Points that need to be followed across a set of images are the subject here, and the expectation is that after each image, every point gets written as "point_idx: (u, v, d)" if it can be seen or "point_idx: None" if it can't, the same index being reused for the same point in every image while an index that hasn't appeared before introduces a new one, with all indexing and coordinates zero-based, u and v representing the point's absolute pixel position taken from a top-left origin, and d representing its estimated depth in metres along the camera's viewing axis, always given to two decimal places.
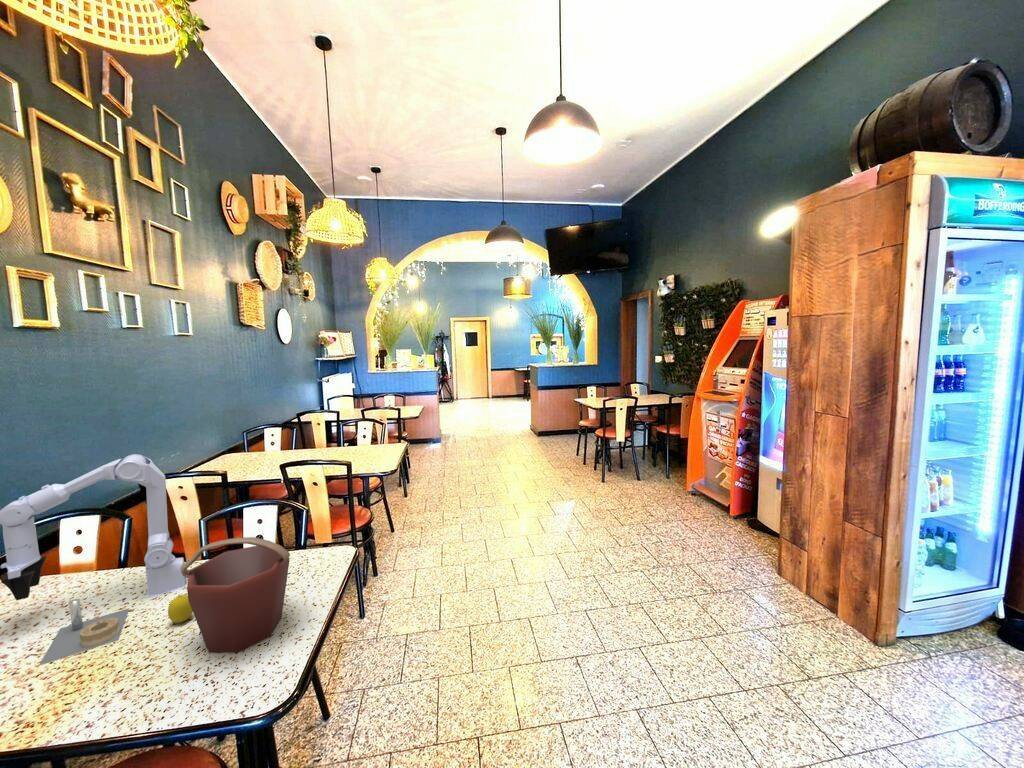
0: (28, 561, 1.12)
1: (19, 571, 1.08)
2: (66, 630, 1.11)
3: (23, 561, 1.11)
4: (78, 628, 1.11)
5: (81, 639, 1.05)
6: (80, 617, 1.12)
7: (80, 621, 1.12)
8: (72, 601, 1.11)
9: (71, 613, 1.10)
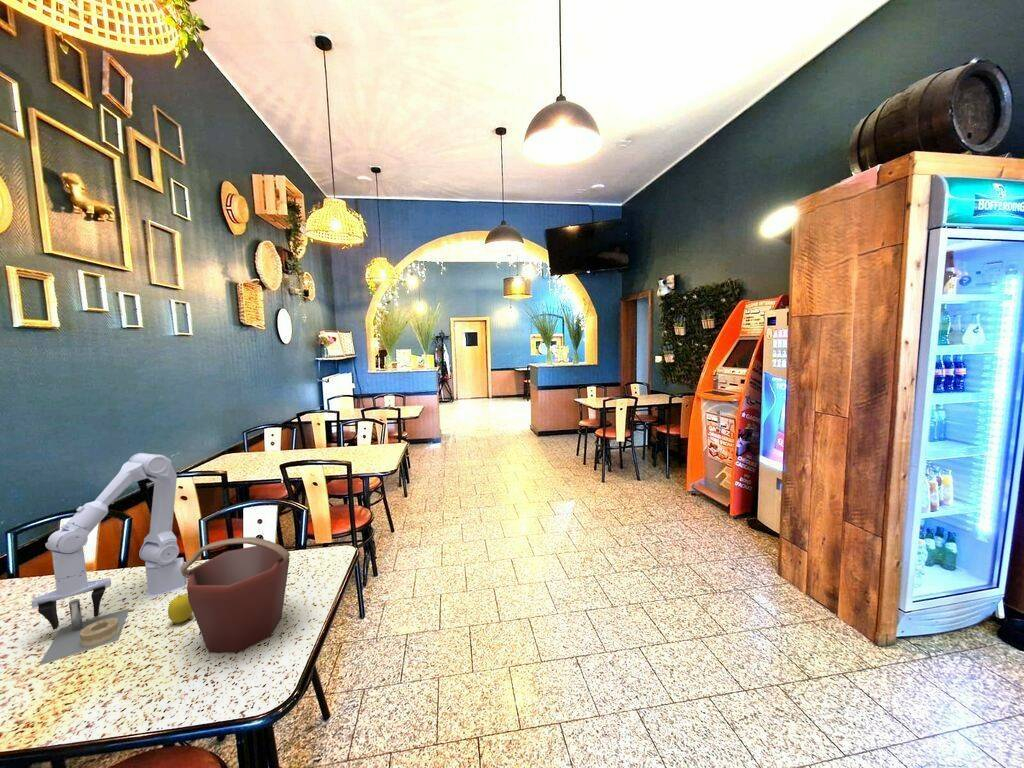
0: (57, 594, 1.08)
1: (33, 603, 1.06)
2: (66, 630, 1.11)
3: (56, 591, 1.09)
4: (78, 628, 1.11)
5: (81, 639, 1.05)
6: (80, 617, 1.12)
7: (80, 621, 1.12)
8: (72, 601, 1.11)
9: (71, 613, 1.10)
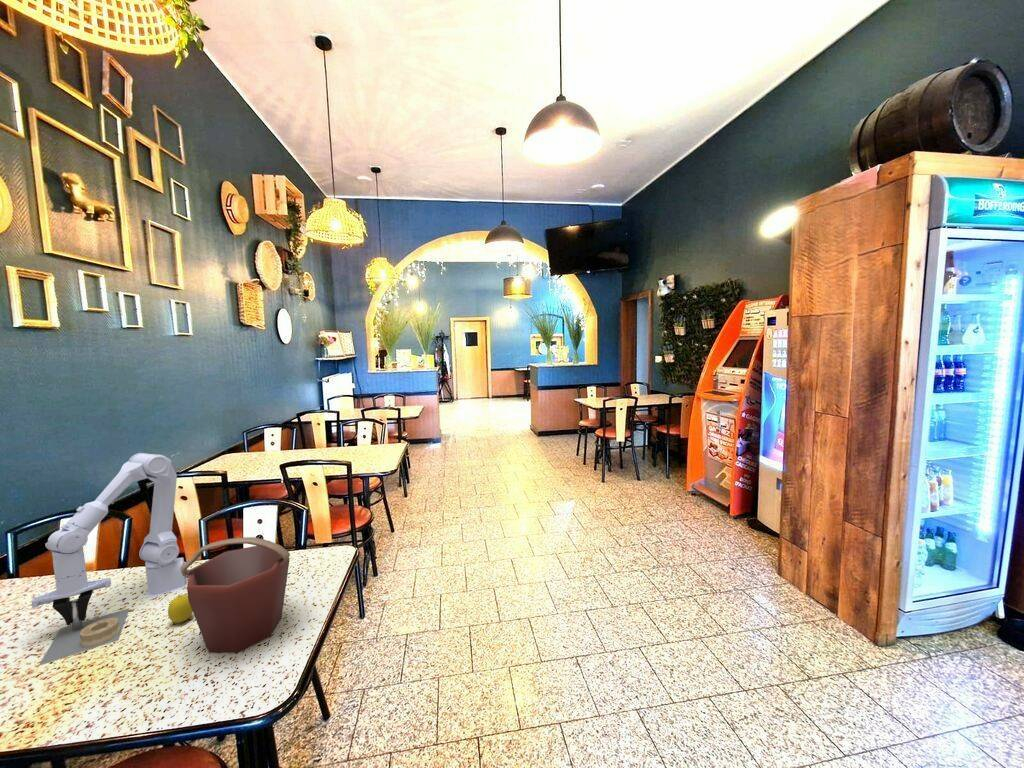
0: (57, 594, 1.08)
1: (33, 603, 1.06)
2: (66, 630, 1.11)
3: (56, 591, 1.09)
4: (78, 628, 1.11)
5: (81, 639, 1.05)
6: (80, 617, 1.12)
7: (80, 621, 1.12)
8: (72, 601, 1.11)
9: (71, 613, 1.10)
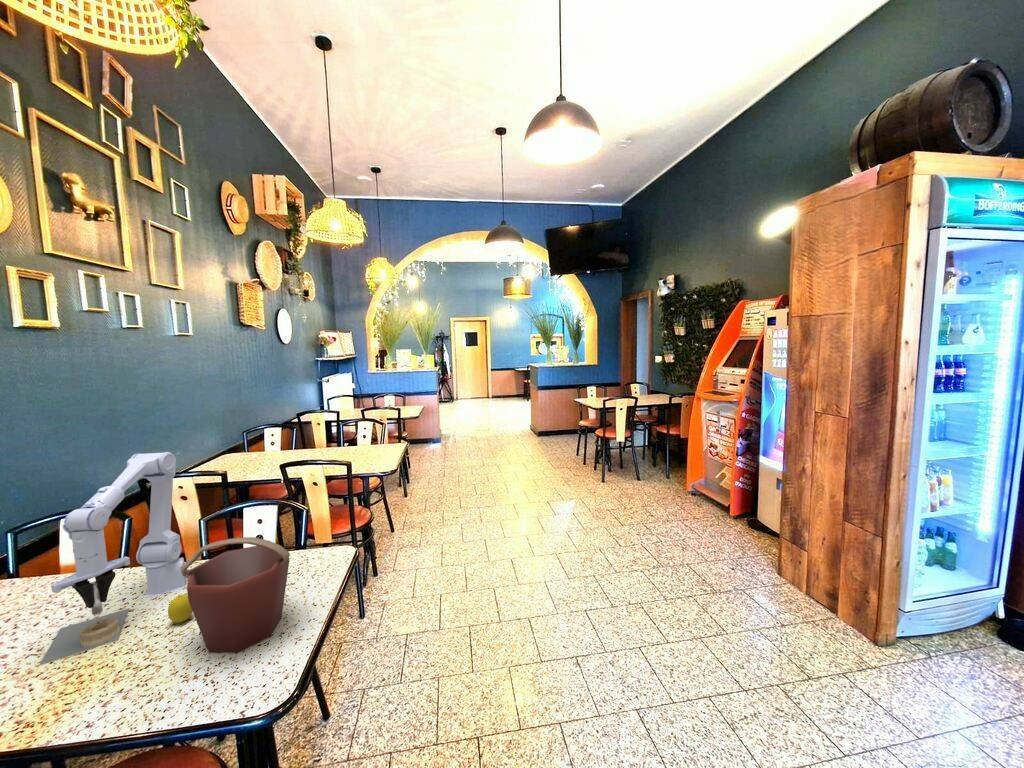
0: (82, 575, 1.04)
1: (57, 587, 1.00)
2: (66, 630, 1.11)
3: (79, 573, 1.04)
4: (100, 610, 1.07)
5: (81, 639, 1.05)
6: None
7: (101, 603, 1.08)
8: (92, 583, 1.06)
9: (94, 595, 1.06)
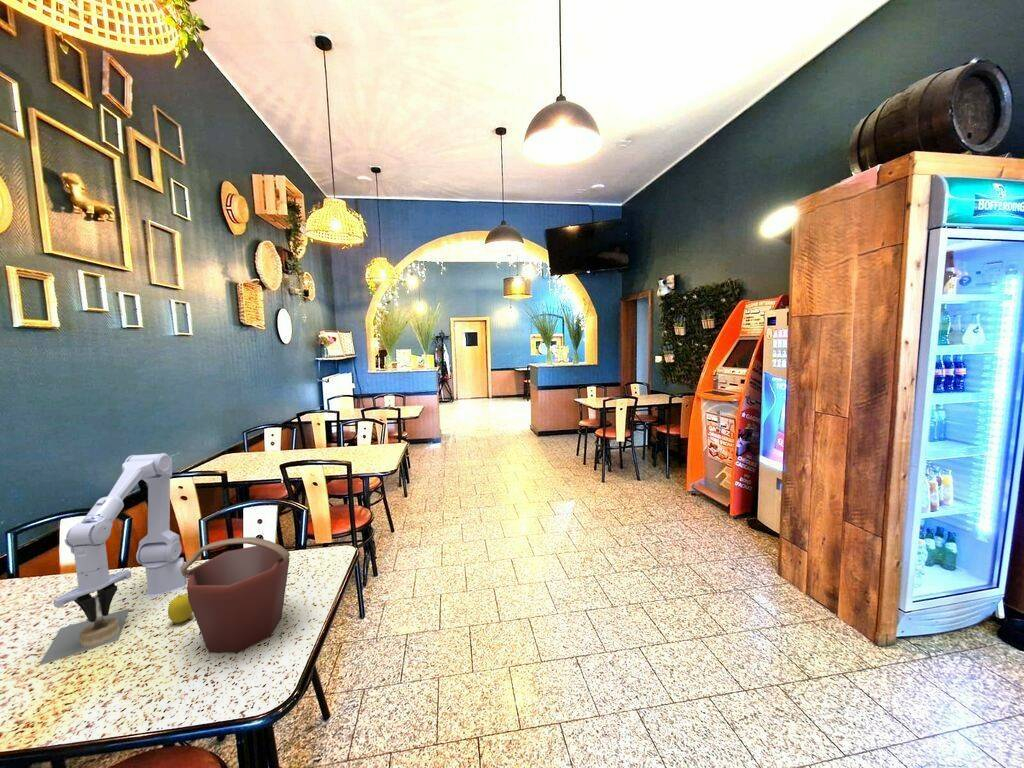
0: (84, 590, 1.04)
1: (59, 602, 1.00)
2: (66, 630, 1.11)
3: (81, 588, 1.04)
4: (102, 624, 1.08)
5: (81, 639, 1.05)
6: None
7: (103, 617, 1.08)
8: (94, 597, 1.07)
9: (95, 609, 1.06)
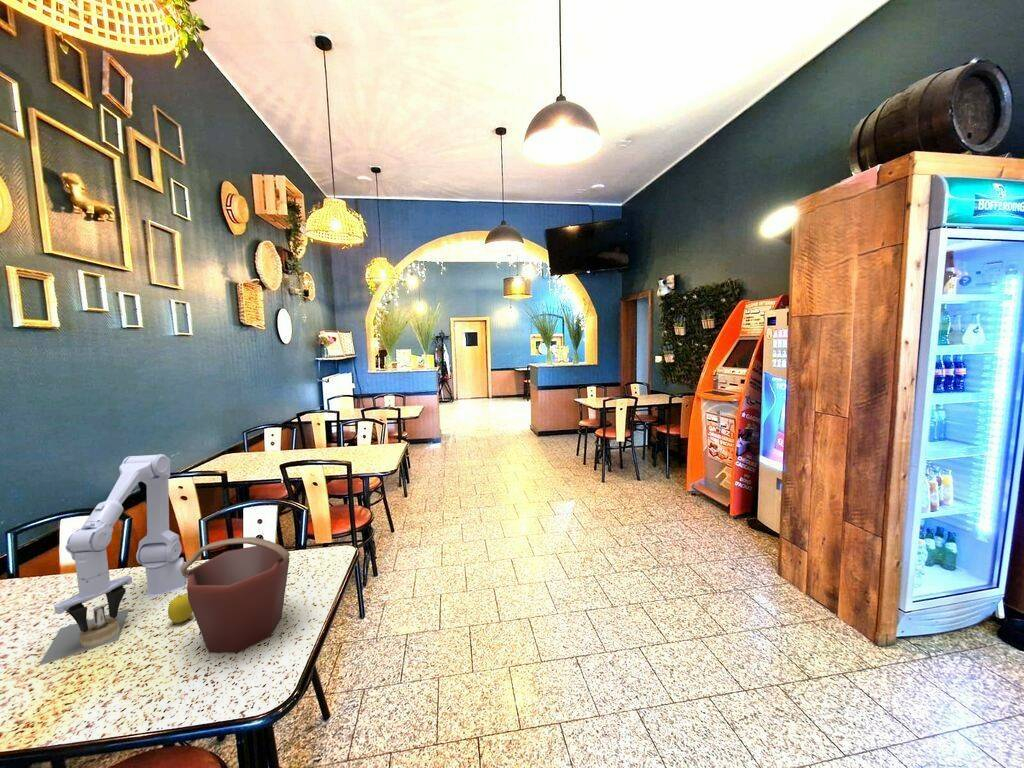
0: (85, 596, 1.04)
1: (60, 608, 1.00)
2: (66, 630, 1.11)
3: (81, 594, 1.04)
4: None
5: (81, 639, 1.05)
6: None
7: None
8: (97, 608, 1.07)
9: (98, 620, 1.07)
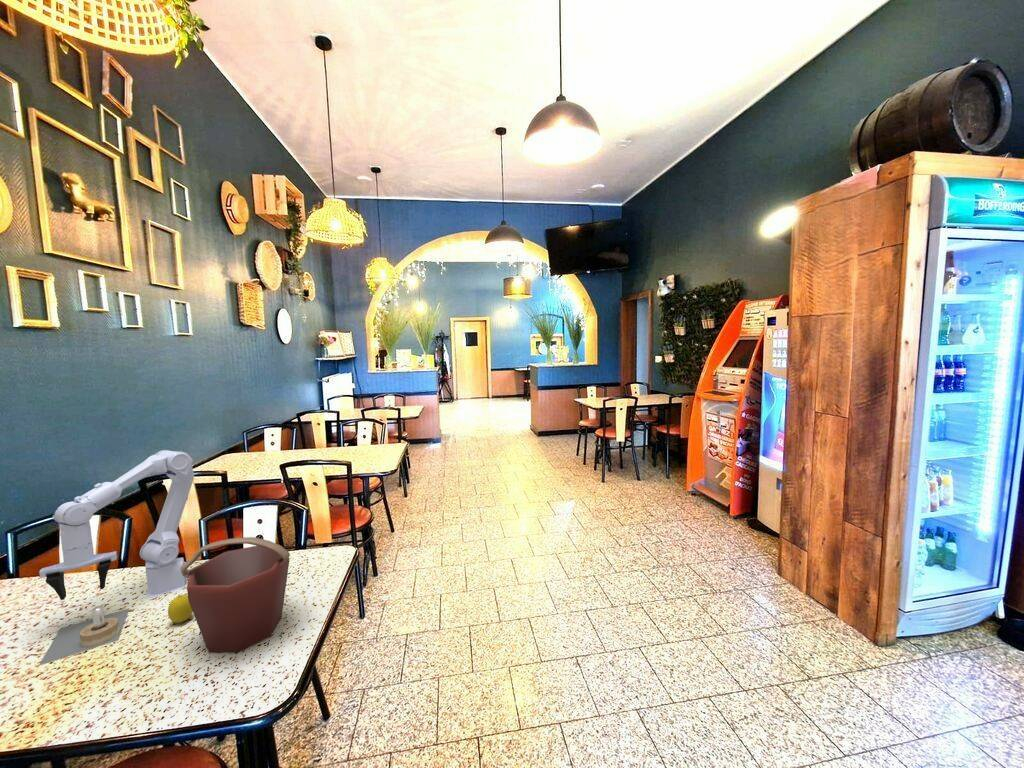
0: (64, 565, 1.10)
1: (41, 573, 1.08)
2: (66, 630, 1.11)
3: (63, 563, 1.10)
4: None
5: (81, 639, 1.05)
6: (104, 624, 1.08)
7: None
8: (96, 609, 1.07)
9: (97, 620, 1.07)
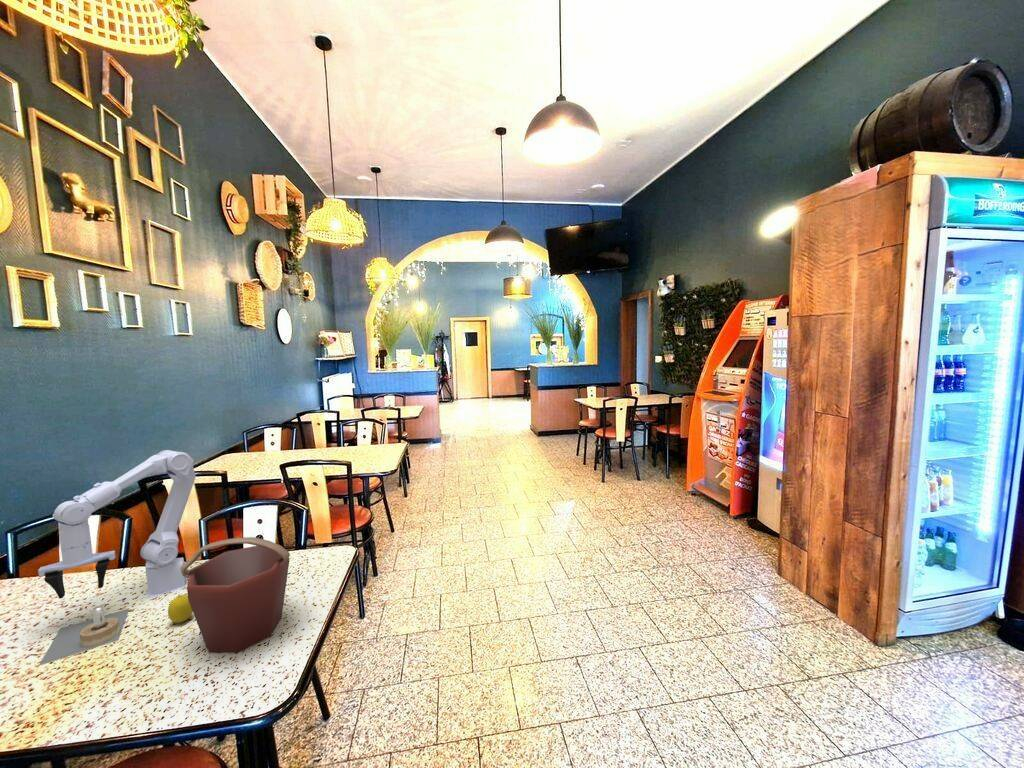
0: (63, 564, 1.11)
1: (40, 571, 1.09)
2: (66, 630, 1.11)
3: (62, 561, 1.11)
4: None
5: (81, 639, 1.05)
6: (104, 624, 1.08)
7: None
8: (96, 608, 1.07)
9: (97, 620, 1.07)
